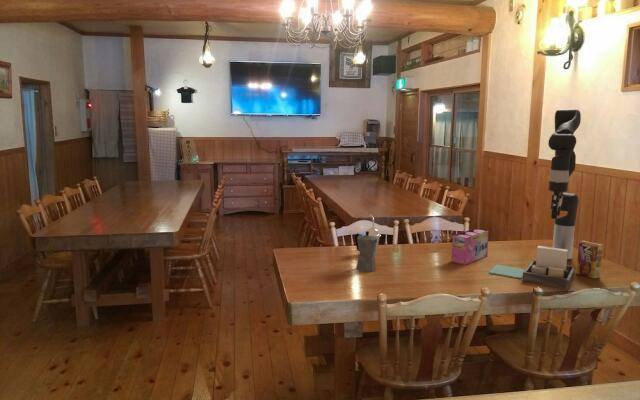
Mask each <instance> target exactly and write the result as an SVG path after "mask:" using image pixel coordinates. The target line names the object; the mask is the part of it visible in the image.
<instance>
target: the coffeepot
mask: <svg viewBox="0 0 640 400" xmlns="http://www.w3.org/2000/svg"><path fill="white" fill-rule="evenodd" d="M365 233H366V235H365V234H361V233H356V234H355V235H354V240H355V245H356V250H357V251H358V252H359V255H358V258H357V262H356V263H357V264H356V269H357V271H358V272H359V271H360V272H363V273H370V272H371V273H372V272H374V271H376V270H377V265H376V258H375V255H374V252H375V249H376V244H377V238H376V237H375V236H370V235H369V232H368V231H367V230H366V231H365Z"/></svg>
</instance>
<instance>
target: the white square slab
mask: <svg viewBox="0 0 640 400" xmlns="http://www.w3.org/2000/svg"><path fill="white" fill-rule="evenodd" d="M552 247H553V246H551V247H550V246H544V245H538V246H537V248H536V257H535V260H536V266H542V267H547V268H549V267H550V266H556V267H563V268H565V269H564V270H566V265H568V264H567V263H568V259H567V255H568V250H566V249H559V248H552Z"/></svg>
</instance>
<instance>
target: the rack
mask: <svg viewBox="0 0 640 400" xmlns="http://www.w3.org/2000/svg"><path fill="white" fill-rule="evenodd" d="M533 265H535V266H536V259H533V261H531V262H530V263H529V264H528V266H527V267H526V268H525V270H524V272H523V277H522V279H521V280H522V282H525V283H532V284H537V285H538V284H539V285H543V286H548V287H554V288H560V289H565V290H569V288H570V286H571V285H572V282H573V279H574V276H575V268H573V266H572V265H568V264H567V265H566V270H564V278H558V277H552V276H548V272H549V268H547V274H546V275H541V274H535V273H531V269H532V266H533Z"/></svg>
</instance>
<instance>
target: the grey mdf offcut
mask: <svg viewBox="0 0 640 400" xmlns="http://www.w3.org/2000/svg"><path fill="white" fill-rule="evenodd" d="M531 273H535V274H541V275H546V274H547V267H542V266H535V265H533V266H532V269H531Z"/></svg>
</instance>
